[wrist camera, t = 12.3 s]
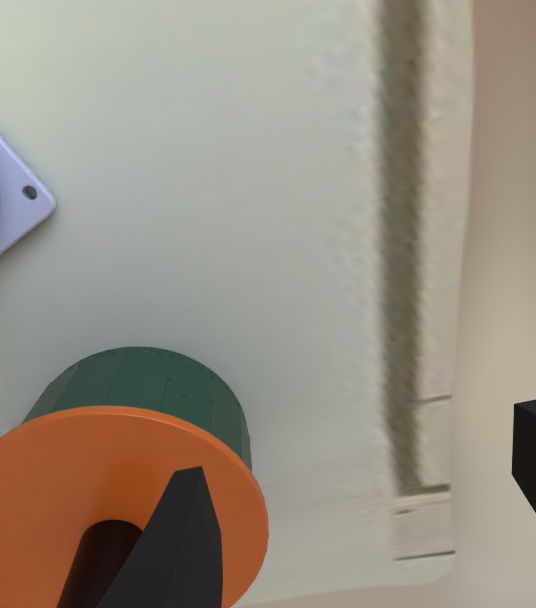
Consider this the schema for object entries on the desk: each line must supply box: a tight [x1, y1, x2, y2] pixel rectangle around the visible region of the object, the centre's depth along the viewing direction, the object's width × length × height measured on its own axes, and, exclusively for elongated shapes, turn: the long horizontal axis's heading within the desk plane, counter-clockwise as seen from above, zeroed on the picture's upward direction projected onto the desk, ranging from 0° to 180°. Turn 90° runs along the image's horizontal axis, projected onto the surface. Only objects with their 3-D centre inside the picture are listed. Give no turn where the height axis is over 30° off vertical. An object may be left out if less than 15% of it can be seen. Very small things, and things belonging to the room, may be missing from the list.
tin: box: [21, 347, 252, 473], centre depth 19 cm, size 10×10×5 cm
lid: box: [0, 405, 269, 608], centre depth 15 cm, size 11×11×4 cm
